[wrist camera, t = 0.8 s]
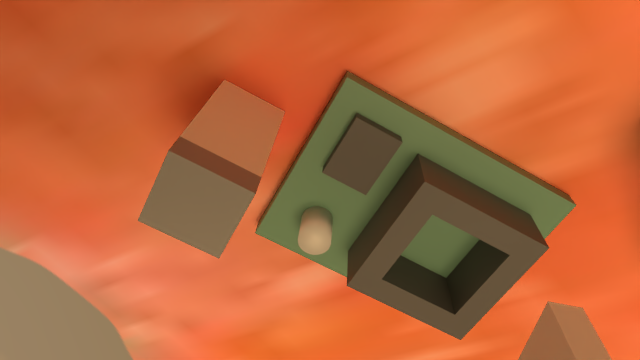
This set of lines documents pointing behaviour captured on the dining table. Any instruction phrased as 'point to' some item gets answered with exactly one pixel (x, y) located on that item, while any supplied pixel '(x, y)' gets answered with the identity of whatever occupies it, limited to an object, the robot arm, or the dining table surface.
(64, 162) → the dining table surface
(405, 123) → the board
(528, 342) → the robot arm
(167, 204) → the plug
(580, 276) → the dining table surface
